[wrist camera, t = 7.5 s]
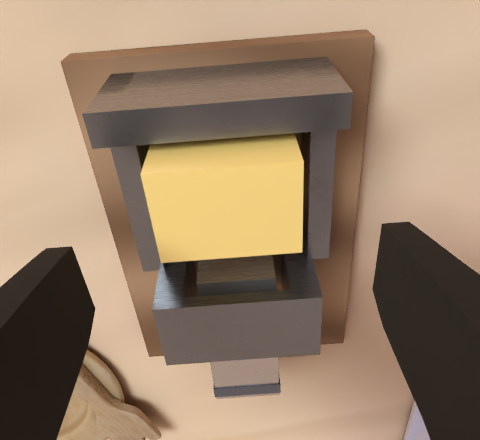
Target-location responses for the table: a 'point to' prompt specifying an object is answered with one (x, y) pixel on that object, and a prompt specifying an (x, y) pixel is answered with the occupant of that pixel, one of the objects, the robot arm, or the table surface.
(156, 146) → the block
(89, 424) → the tableware set
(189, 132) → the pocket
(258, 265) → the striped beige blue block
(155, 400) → the table surface
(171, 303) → the block
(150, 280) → the board
